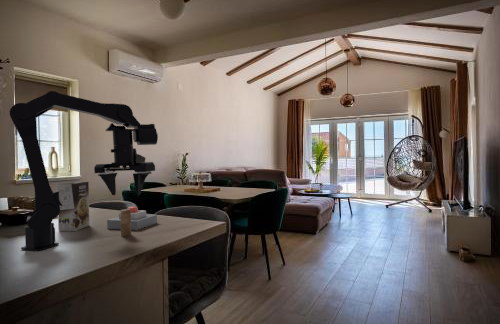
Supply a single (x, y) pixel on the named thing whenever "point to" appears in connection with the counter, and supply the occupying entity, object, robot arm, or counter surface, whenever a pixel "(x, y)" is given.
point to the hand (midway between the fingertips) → (126, 195)
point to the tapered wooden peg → (125, 222)
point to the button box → (134, 220)
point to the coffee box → (73, 206)
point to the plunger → (133, 209)
